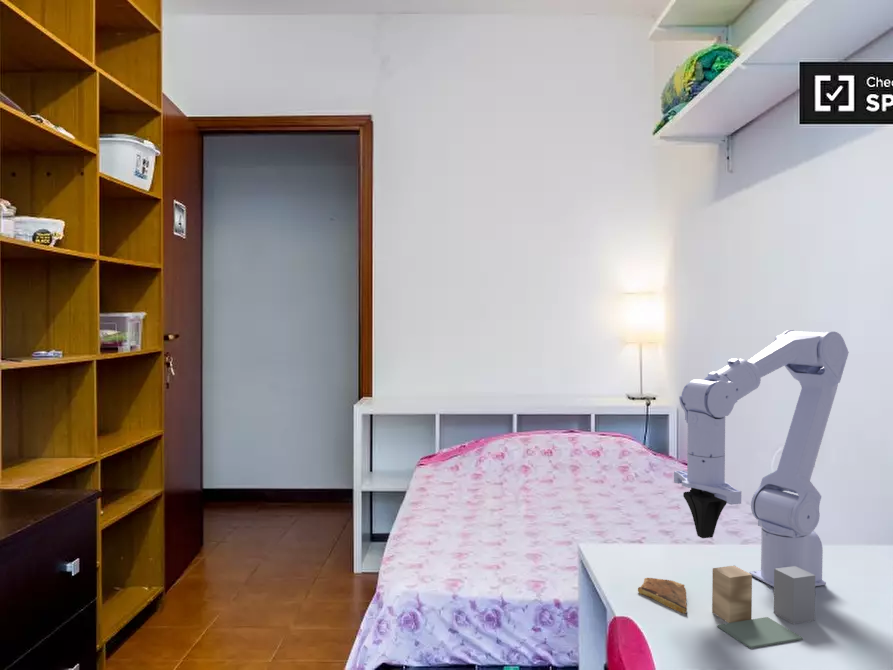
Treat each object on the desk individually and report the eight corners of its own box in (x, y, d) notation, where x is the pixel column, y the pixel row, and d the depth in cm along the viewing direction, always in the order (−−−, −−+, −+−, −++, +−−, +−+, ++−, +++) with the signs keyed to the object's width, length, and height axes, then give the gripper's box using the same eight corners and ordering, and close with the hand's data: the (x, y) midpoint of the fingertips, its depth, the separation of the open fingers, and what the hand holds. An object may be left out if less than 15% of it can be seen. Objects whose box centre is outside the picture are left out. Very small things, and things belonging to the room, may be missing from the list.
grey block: (794, 609, 110) (795, 566, 110) (814, 620, 106) (815, 575, 106) (773, 613, 109) (774, 568, 109) (793, 624, 105) (793, 578, 105)
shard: (686, 618, 108) (687, 607, 108) (635, 612, 111) (635, 600, 110) (685, 591, 119) (685, 581, 118) (639, 586, 121) (639, 576, 121)
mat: (767, 618, 107) (767, 616, 107) (802, 639, 100) (802, 637, 100) (717, 626, 104) (717, 624, 104) (750, 648, 97) (750, 646, 97)
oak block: (733, 609, 110) (734, 565, 110) (751, 619, 107) (752, 574, 106) (712, 612, 109) (712, 568, 109) (729, 623, 105) (729, 577, 105)
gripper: (658, 446, 119) (658, 525, 120) (714, 465, 105) (713, 553, 106) (694, 444, 121) (693, 521, 122) (753, 461, 107) (752, 549, 108)
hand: (705, 536), depth 114 cm, fingers closed
